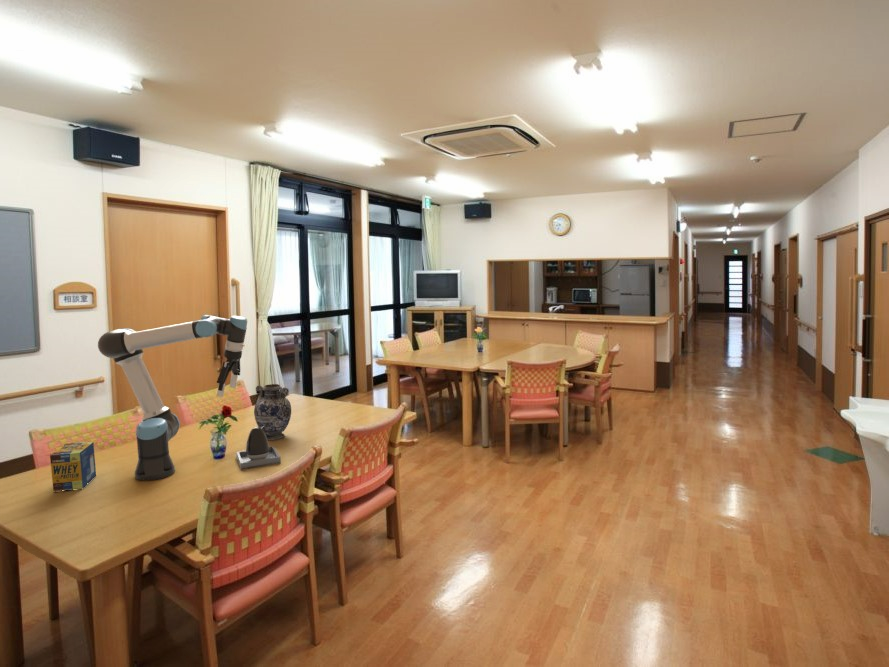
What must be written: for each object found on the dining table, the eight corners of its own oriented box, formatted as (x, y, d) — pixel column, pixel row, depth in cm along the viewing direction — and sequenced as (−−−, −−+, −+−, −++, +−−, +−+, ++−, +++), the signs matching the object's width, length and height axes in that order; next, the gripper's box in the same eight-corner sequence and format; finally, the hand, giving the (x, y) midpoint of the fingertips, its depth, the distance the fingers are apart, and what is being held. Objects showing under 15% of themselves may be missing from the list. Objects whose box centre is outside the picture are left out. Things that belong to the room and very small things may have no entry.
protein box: (52, 493, 209) (49, 455, 207) (69, 478, 223) (65, 443, 222) (83, 490, 211) (79, 452, 210) (97, 475, 226) (94, 441, 224)
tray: (280, 463, 239) (280, 456, 239) (241, 469, 232) (240, 463, 231) (274, 452, 254) (273, 446, 254) (236, 458, 247) (236, 451, 246)
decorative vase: (245, 440, 273) (243, 387, 270) (269, 430, 290) (268, 380, 287) (278, 444, 265) (276, 390, 262) (301, 434, 282) (300, 383, 279)
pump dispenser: (274, 456, 245) (273, 425, 244) (258, 464, 236) (256, 431, 234) (258, 453, 250) (256, 422, 248) (241, 461, 240) (239, 428, 238)
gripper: (230, 357, 230) (222, 402, 234) (252, 345, 254) (244, 386, 258) (213, 353, 230) (205, 398, 234) (237, 341, 254) (229, 382, 258)
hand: (226, 392), depth 246 cm, fingers open, 13 cm apart
